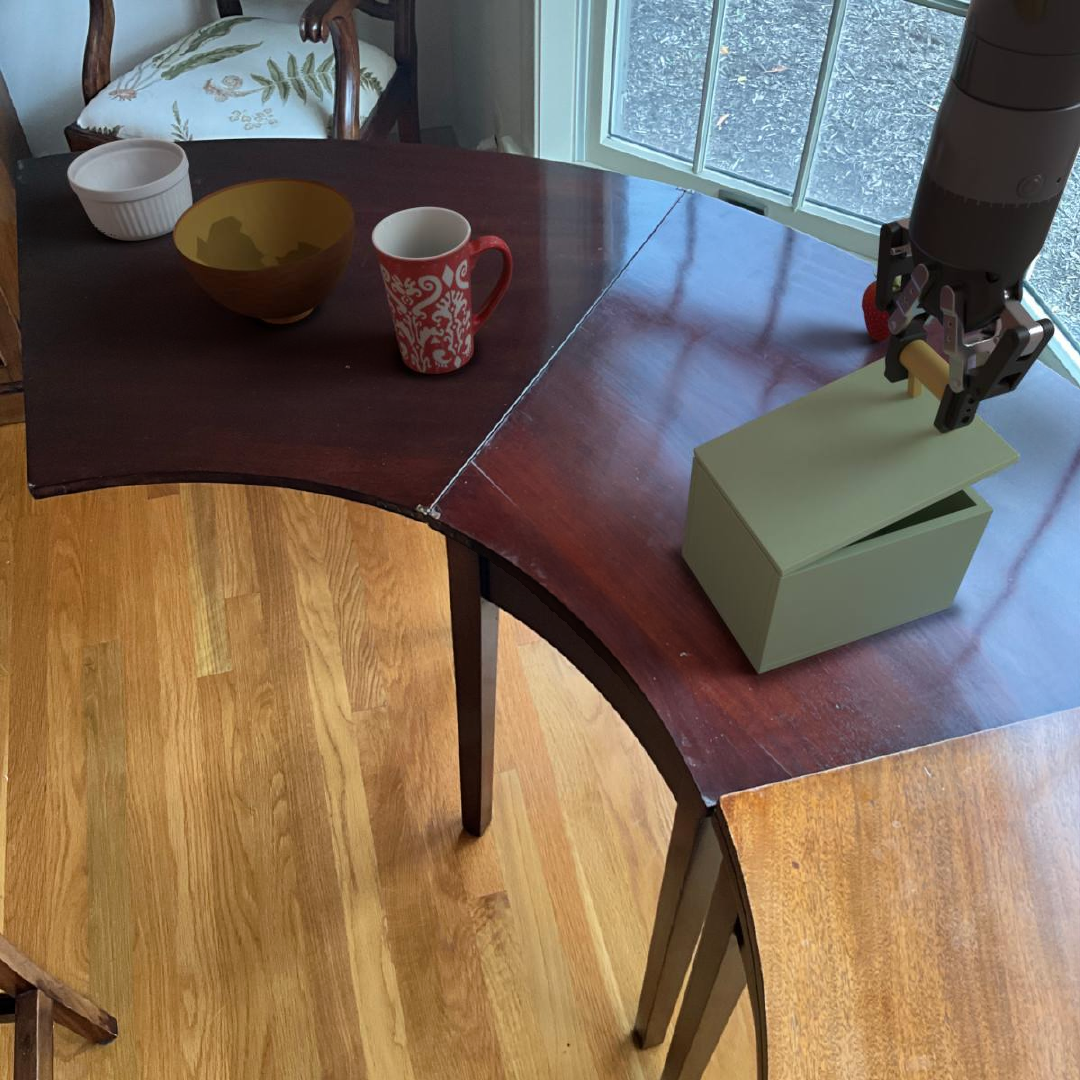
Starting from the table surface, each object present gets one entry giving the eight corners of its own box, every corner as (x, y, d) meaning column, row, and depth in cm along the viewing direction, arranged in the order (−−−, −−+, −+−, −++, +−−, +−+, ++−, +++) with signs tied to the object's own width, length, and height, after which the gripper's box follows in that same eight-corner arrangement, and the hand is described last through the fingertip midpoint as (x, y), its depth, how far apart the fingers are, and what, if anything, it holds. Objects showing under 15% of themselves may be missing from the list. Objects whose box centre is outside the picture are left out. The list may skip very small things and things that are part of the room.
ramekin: (191, 181, 125) (174, 127, 120) (212, 231, 117) (195, 175, 112) (82, 206, 122) (60, 151, 117) (95, 258, 113) (73, 202, 108)
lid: (905, 354, 73) (908, 297, 69) (1019, 462, 65) (1029, 405, 61) (694, 455, 73) (683, 404, 69) (781, 577, 65) (776, 527, 60)
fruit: (909, 329, 100) (930, 258, 94) (902, 360, 97) (923, 289, 91) (857, 319, 102) (875, 249, 96) (849, 349, 98) (866, 279, 92)
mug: (394, 387, 96) (374, 264, 86) (388, 332, 102) (368, 211, 92) (523, 370, 97) (518, 247, 88) (510, 317, 104) (503, 196, 94)
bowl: (386, 334, 102) (371, 247, 95) (212, 374, 98) (183, 286, 91) (348, 248, 113) (332, 164, 106) (191, 282, 110) (163, 197, 102)
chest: (858, 499, 84) (888, 400, 76) (950, 608, 76) (994, 509, 68) (681, 554, 81) (692, 456, 73) (758, 674, 73) (780, 578, 65)
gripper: (1148, 209, 51) (1040, 452, 64) (971, 98, 60) (908, 329, 73) (1026, 243, 50) (940, 485, 62) (864, 123, 59) (818, 355, 71)
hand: (923, 400), depth 68 cm, fingers closed on lid, 5 cm apart
